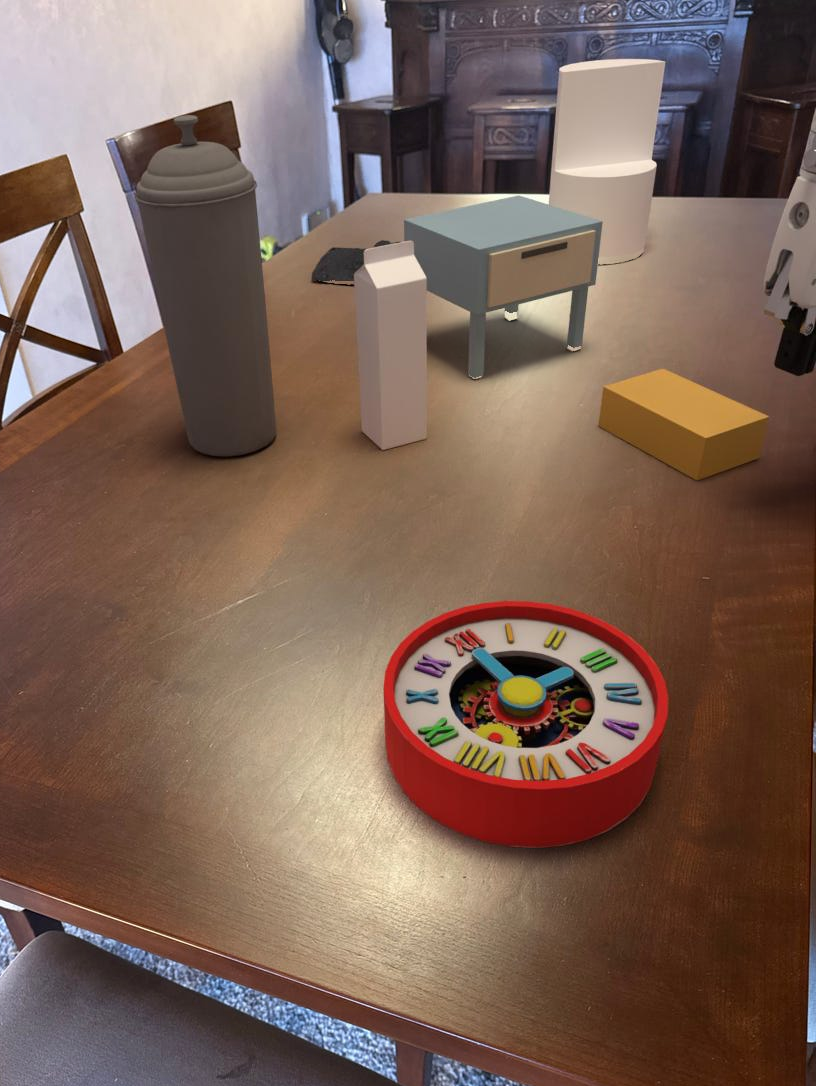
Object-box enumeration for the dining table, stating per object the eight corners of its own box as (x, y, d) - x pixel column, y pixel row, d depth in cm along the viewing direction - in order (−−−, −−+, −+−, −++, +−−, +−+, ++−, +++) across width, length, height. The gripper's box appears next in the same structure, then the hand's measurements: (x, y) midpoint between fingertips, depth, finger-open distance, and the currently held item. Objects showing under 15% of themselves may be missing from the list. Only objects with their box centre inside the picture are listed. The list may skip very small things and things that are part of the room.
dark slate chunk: (335, 257, 167) (333, 230, 164) (449, 262, 160) (450, 234, 157) (304, 283, 156) (302, 255, 153) (425, 290, 149) (425, 260, 146)
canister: (211, 474, 104) (153, 134, 82) (165, 436, 112) (101, 119, 90) (303, 441, 109) (272, 112, 87) (253, 407, 117) (212, 100, 95)
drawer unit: (591, 352, 125) (606, 222, 114) (477, 384, 119) (482, 250, 108) (511, 314, 138) (518, 195, 127) (405, 342, 132) (403, 219, 121)
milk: (427, 439, 107) (428, 246, 93) (381, 451, 106) (376, 257, 92) (404, 420, 112) (402, 233, 98) (360, 431, 110) (351, 242, 96)
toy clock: (490, 836, 54) (334, 656, 68) (486, 894, 57) (339, 712, 71) (733, 714, 60) (545, 573, 74) (716, 773, 64) (539, 628, 78)
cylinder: (530, 243, 166) (543, 65, 148) (619, 232, 168) (641, 55, 150) (566, 270, 153) (584, 79, 135) (661, 258, 154) (691, 67, 137)
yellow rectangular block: (758, 458, 99) (769, 416, 96) (696, 480, 96) (705, 438, 93) (656, 407, 110) (662, 368, 107) (598, 425, 107) (603, 386, 104)
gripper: (827, 177, 69) (766, 401, 80) (955, 150, 74) (880, 365, 85) (751, 161, 74) (704, 374, 86) (875, 137, 79) (815, 341, 91)
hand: (792, 369), depth 85 cm, fingers closed
